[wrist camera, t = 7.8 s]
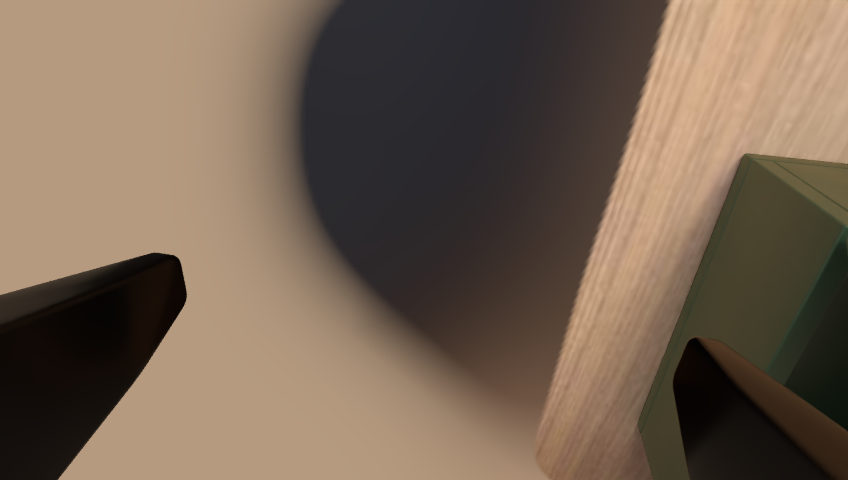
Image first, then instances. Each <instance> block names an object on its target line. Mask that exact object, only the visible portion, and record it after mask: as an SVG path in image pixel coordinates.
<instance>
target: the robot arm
mask: <svg viewBox="0 0 848 480" xmlns="http://www.w3.org/2000/svg"><path fill="white" fill-rule="evenodd" d="M186 298H187V293H186V286H185V281H184V276H183V272H182V266H181V263H180V260H179V259H178V258H177V257H176V256H174V255H169V254H162V253H150V254H147V255H143V256H139V257H136V258H133V259H129V260H125V261H122V262H118V263H114V264H111V265H107V266H104V267H100V268H96V269H93V270H89V271H86V272H82V273H78V274H75V275H71V276H67V277H64V278H61V279H57V280H53V281H49V282H46V283H43V284H39V285H35V286H32V287H28V288H25V289H21V290H17V291H14V292H10V293H6V294H3V295H0V480H58V479H59V477H60V476H61V475H62V474H63V472H64V471H65V470H66V469H67V467H68V466H69V465H70V464H71V462H72V461H73V460H74V458H75V457H76V456H77V455H78V453H79V452H80V451H81V449H82V448H83V447H84V446H85V444H86V443H87V442H88V441H89V439H90V438H91V437H92V435H93V434H94V433H95V432H96V430H97V429H98V428H99V427H100V425H101V424H102V423H103V421H104V420H105V419H106V418H107V416H108V415H109V414H110V412H111V411H112V410H113V409H114V407H115V406H116V405H117V404H118V402H119V401H120V400H121V398H122V397H123V396H124V395H125V393H126V392H127V391H128V389H129V388H130V387H131V386H132V384H133V383H134V382H135V380H136V379H137V378H138V376H139V375H140V373H141V372H142V370H143V369H144V367H145V366H146V365H147V363H148V362H149V360H150V358H151V357H152V356H153V354H154V352H155V351H156V349H157V348H158V346H159V344H160V343H161V341H162V340H163V338H164V336H165V335H166V333H167V332H168V330H169V329H170V327H171V326H172V324H173V322H174V321H175V319H176V318H177V316H178V315H179V313H180V311H181V310H182V308H183V306H184V304H185V302H186ZM673 393H674V398H675V404H676V409H677V415H678V421H679V426H680V432H681V437H682V443H683V449H684V454H685V460H686V465H687V470H688V474H689V479H690V480H848V431H847V430H846V429H844V428H843V427H841V426H840V425H838V424H837V423H836V422H834V421H833V420H831V419H830V418H829V417H827V416H826V415H824V414H823V413H822V412H820V411H819V410H817V409H816V408H815V407H813V406H812V405H810V404H809V403H808V402H806V401H805V400H803V399H802V398H801V397H799V396H798V395H796V394H795V393H794V392H792V391H791V390H789V389H788V388H787V387H785V386H784V385H782V384H781V383H780V382H778V381H777V380H775V379H774V378H773V377H771V376H770V375H768V374H767V373H765V372H764V371H763V370H761V369H760V368H758V367H757V366H756V365H754V364H753V363H751V362H750V361H749V360H747V359H746V358H744V357H743V356H742V355H740V354H739V353H737V352H736V351H735V350H733V349H732V348H730V347H729V346H728V345H726V344H725V343H723V342H722V341H720V340H717V339H710V338H703V337H697V336H695V337H692V338H690V339H689V341H688V342H687V344H686V346H685V348H684V351H683V353H682V356H681V358H680V360H679V363H678V365H677V368H676V370H675V372H674V376H673Z"/></svg>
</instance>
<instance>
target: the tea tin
mask: <svg viewBox="0 0 848 480" xmlns="http://www.w3.org/2000/svg"><path fill="white" fill-rule="evenodd" d="M847 237H848V164H843V163H833V162H824V161H814V160H804V159H795V158H785V157H776V156H766V155H756V154H744V156H743V159H742V161H741V164H740V166H739V169H738V171H737V174H736V176H735V179H734V181H733V184H732V186H731V189H730V191H729V194H728V196H727V199H726V202H725V204H724V207H723V209H722V212H721V214H720V217H719V219H718V222H717V224H716V227H715V229H714V232H713V234H712V237H711V239H710V242H709V244H708V247H707V250H706V252H705V255H704V257H703V260H702V262H701V265H700V267H699V270H698V272H697V275H696V277H695V280H694V282H693V285H692V287H691V290H690V292H689V295H688V298H687V300H686V303H685V305H684V308H683V310H682V313H681V315H680V318H679V320H678V323H677V325H676V328H675V330H674V333H673V335H672V338H671V340H670V343H669V345H668V348H667V351H666V353H665V356H664V358H663V361H662V363H661V366H660V368H659V371H658V373H657V376H656V378H655V381H654V383H653V386H652V388H651V391H650V393H649V396H648V399H647V401H646V404H645V406H644V409H643V411H642V414H641V416H640V419H639V421H638V426H639V430H640V433H641V437H642V441H643V444H644V448H645V452H646V455H647V459H648V462H649V466H650V469H651V473H652V477H653V480H690V479H689V474H688V470H687V465H686V460H685V454H684V449H683V443H682V437H681V432H680V426H679V421H678V415H677V409H676V404H675V398H674V393H673V376H674V372H675V370H676V368H677V365H678V363H679V360H680V358H681V356H682V353H683V351H684V348H685V346H686V344H687V342H688V341H689V339H690V338H692V337H695V336H697V337H703V338H710V339H717V340H720V341H722V342H723V343H725V344H726V345H728V346H729V347H730V348H732V349H733V350H735V351H736V352H737V353H739V354H740V355H742V356H743V357H744V358H746V359H747V360H749V361H750V362H751V363H753V364H754V365H756V366H757V367H758V368H760V369H761V370H763V371H764V372H765V373H767V374H768V375H770V376H771V377H773V378H774V379H775V380H777V381H778V382H780V383H781V384H782V385H784V386H785V387H787V388H788V389H789V390H791V391H792V392H794V393H795V394H796V395H798V396H799V397H801V398H802V399H803V400H805V401H806V402H808V403H809V404H810V405H812V406H813V407H815V408H816V409H817V410H819V411H820V412H822V413H823V414H824V415H826V416H827V417H829V418H830V419H831V420H833V421H834V422H836V423H837V424H838V425H840V426H841V427H843V428H844V429H846V430H847V431H848V254H847V241H846V239H847Z"/></svg>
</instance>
